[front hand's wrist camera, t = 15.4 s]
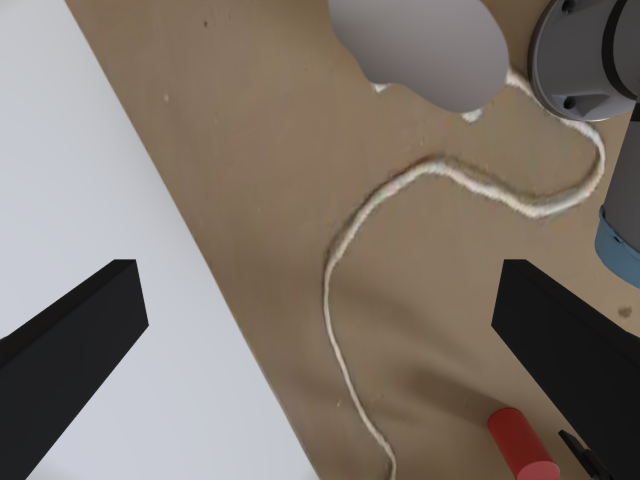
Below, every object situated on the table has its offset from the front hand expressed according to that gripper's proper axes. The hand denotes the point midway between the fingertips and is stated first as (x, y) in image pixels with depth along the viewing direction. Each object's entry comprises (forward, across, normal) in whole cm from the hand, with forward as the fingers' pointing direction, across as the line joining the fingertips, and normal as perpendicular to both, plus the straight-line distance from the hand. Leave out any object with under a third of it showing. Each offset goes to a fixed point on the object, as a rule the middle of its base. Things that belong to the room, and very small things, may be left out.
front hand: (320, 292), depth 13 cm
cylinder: (+33, +31, -42) cm, 61 cm away
